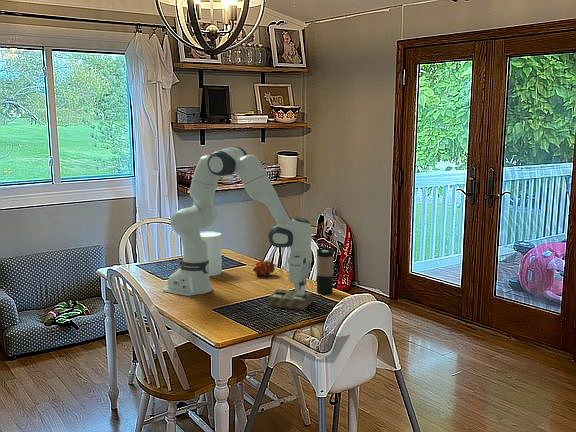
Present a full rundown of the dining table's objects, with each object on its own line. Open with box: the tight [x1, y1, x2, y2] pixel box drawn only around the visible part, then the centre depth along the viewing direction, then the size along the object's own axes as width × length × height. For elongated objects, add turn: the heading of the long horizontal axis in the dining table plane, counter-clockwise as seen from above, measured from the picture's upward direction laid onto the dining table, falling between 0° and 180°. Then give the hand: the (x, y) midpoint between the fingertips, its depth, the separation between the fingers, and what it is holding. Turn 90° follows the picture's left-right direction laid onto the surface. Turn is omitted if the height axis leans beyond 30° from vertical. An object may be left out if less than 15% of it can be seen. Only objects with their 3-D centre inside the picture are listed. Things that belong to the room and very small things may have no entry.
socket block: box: [267, 288, 313, 311], centre depth 260 cm, size 16×12×4 cm
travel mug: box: [316, 247, 335, 296], centre depth 275 cm, size 8×8×20 cm
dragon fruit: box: [252, 259, 276, 277], centre depth 304 cm, size 8×8×12 cm
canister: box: [200, 231, 223, 277], centre depth 308 cm, size 14×14×20 cm
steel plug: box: [297, 280, 306, 298], centre depth 258 cm, size 3×3×10 cm
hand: (300, 287), depth 258 cm, fingers open, 8 cm apart
